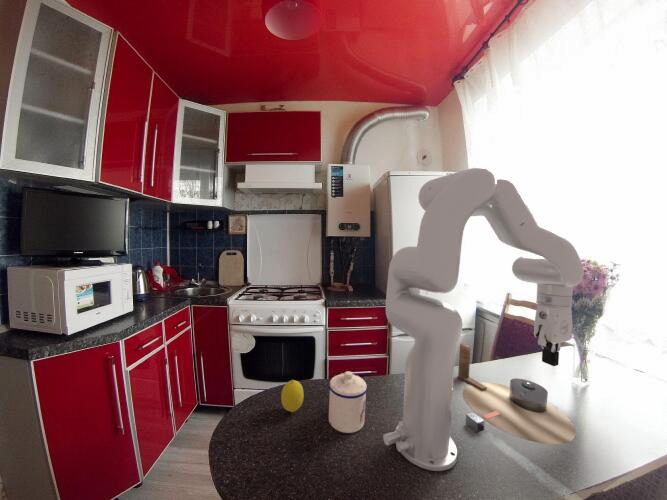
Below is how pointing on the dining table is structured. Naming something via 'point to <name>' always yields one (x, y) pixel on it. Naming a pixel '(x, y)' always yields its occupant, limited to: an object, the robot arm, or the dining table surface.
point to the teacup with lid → (347, 402)
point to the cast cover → (528, 395)
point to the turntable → (512, 409)
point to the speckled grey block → (475, 422)
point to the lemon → (292, 396)
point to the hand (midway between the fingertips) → (549, 363)
